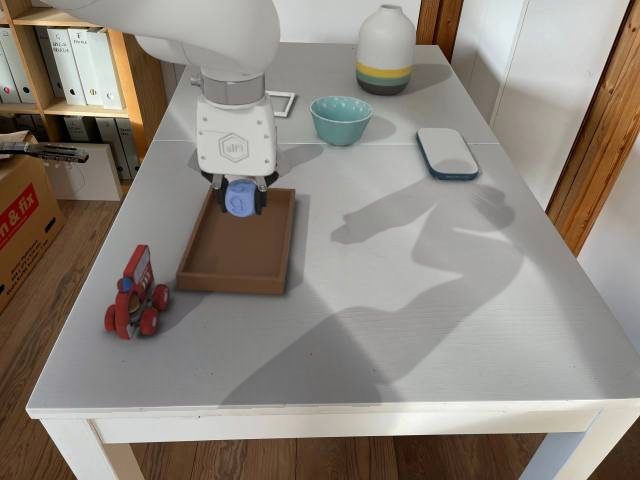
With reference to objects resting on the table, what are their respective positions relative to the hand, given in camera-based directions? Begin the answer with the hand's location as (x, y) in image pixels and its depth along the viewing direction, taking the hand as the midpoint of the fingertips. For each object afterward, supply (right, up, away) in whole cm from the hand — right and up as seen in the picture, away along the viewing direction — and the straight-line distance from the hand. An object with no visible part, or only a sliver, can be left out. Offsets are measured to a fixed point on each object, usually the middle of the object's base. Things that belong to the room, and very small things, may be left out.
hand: (243, 207), depth 72 cm
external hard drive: (+42, +16, +51) cm, 68 cm away
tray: (-3, -5, +22) cm, 22 cm away
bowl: (+16, +21, +56) cm, 62 cm away
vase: (+30, +43, +84) cm, 99 cm away
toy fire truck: (-17, -17, +6) cm, 25 cm away
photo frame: (-6, +34, +71) cm, 79 cm away
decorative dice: (0, 0, 0) cm, 1 cm away
